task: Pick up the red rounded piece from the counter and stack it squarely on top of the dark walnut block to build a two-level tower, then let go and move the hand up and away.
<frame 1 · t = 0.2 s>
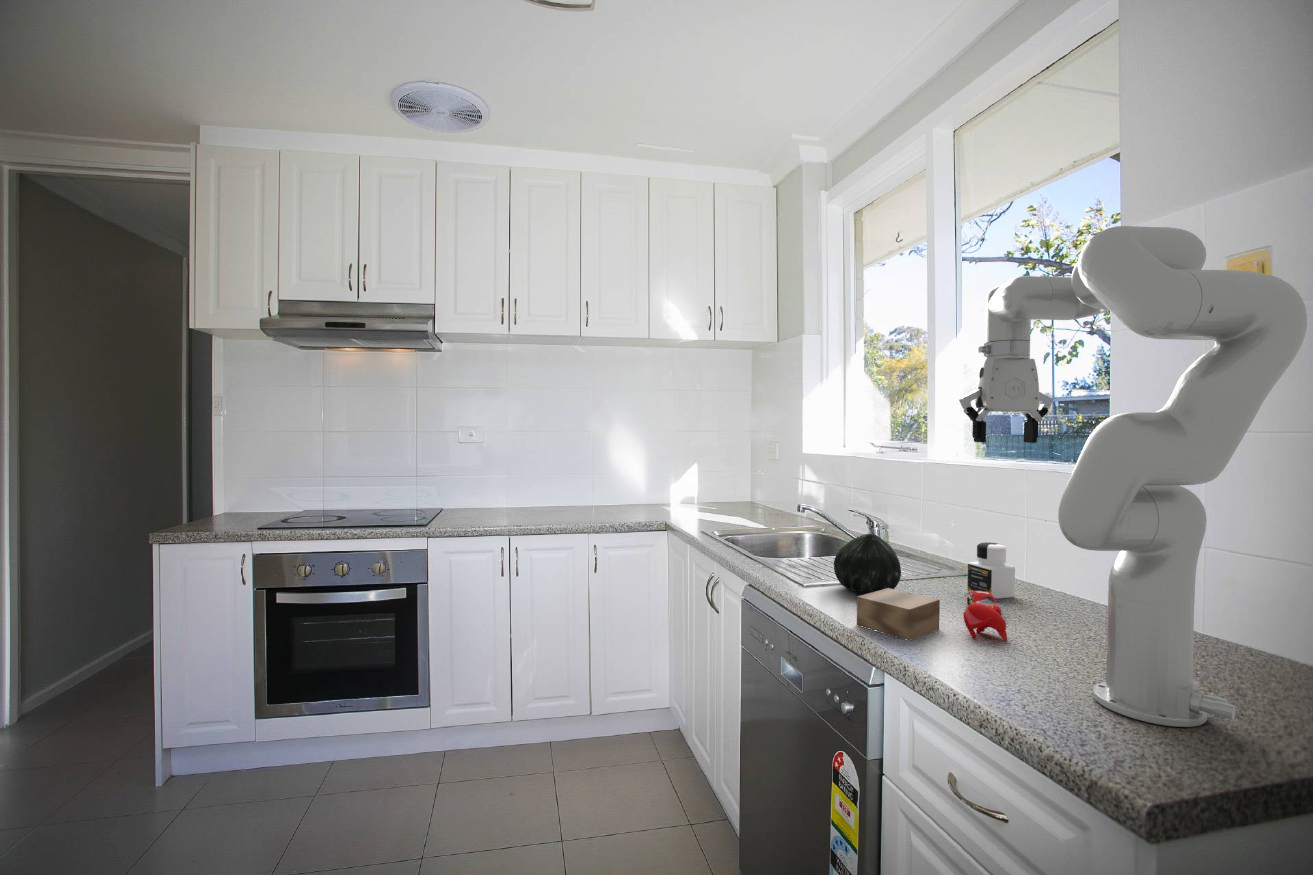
hand: (1004, 442, 121), 36 cm above the worktop, tool pointing down, fingers open, 9 cm apart
walnut block: (897, 628, 124), on the worktop
race car: (983, 613, 136), on the worktop
squash: (867, 592, 151), on the worktop
medicine bottle: (990, 595, 149), on the worktop
red rounded piece: (984, 637, 119), on the worktop
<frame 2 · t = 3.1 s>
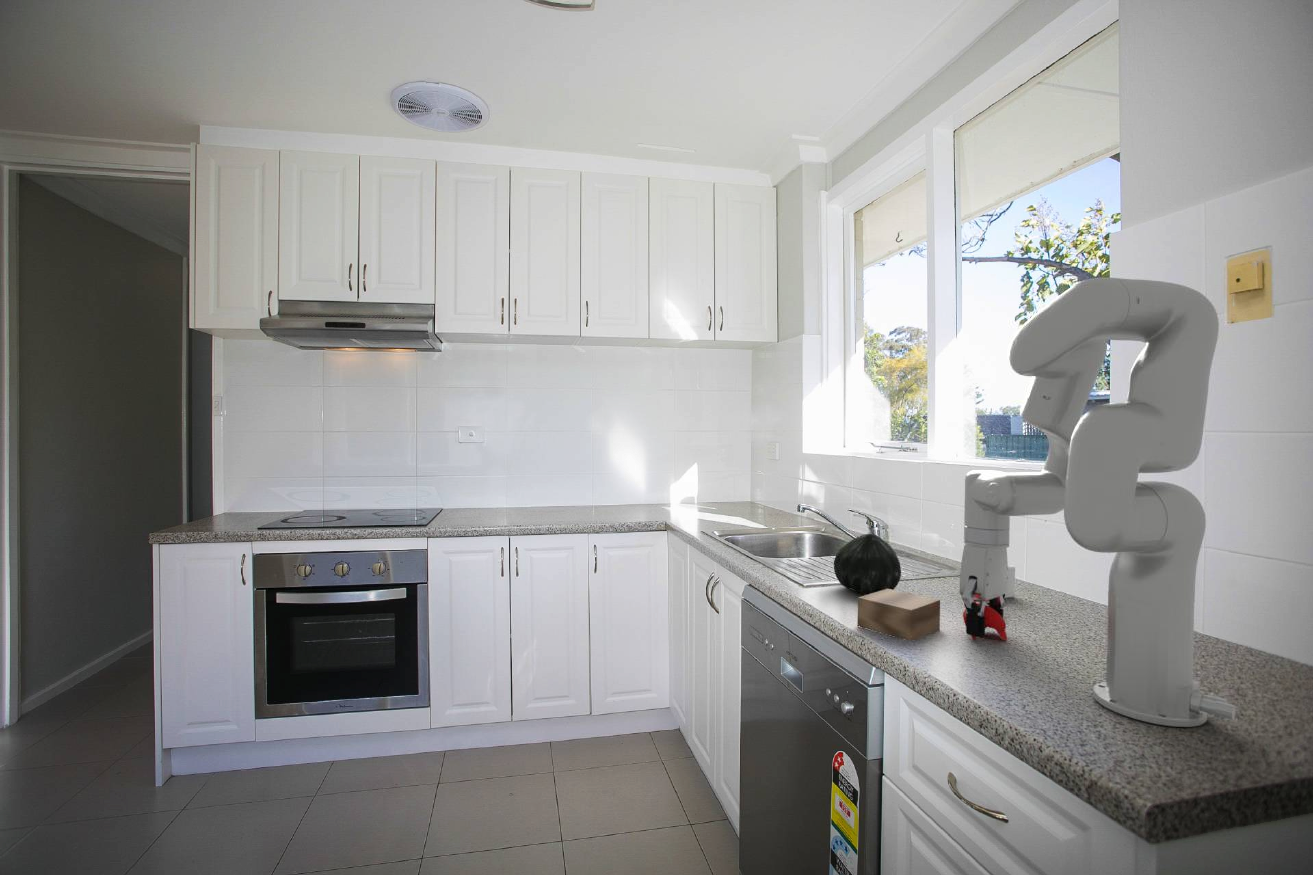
hand: (984, 631, 119), 1 cm above the worktop, tool pointing down, fingers closed on red rounded piece, 6 cm apart
red rounded piece: (984, 637, 119), on the worktop, touching gripper
everything else where it was.
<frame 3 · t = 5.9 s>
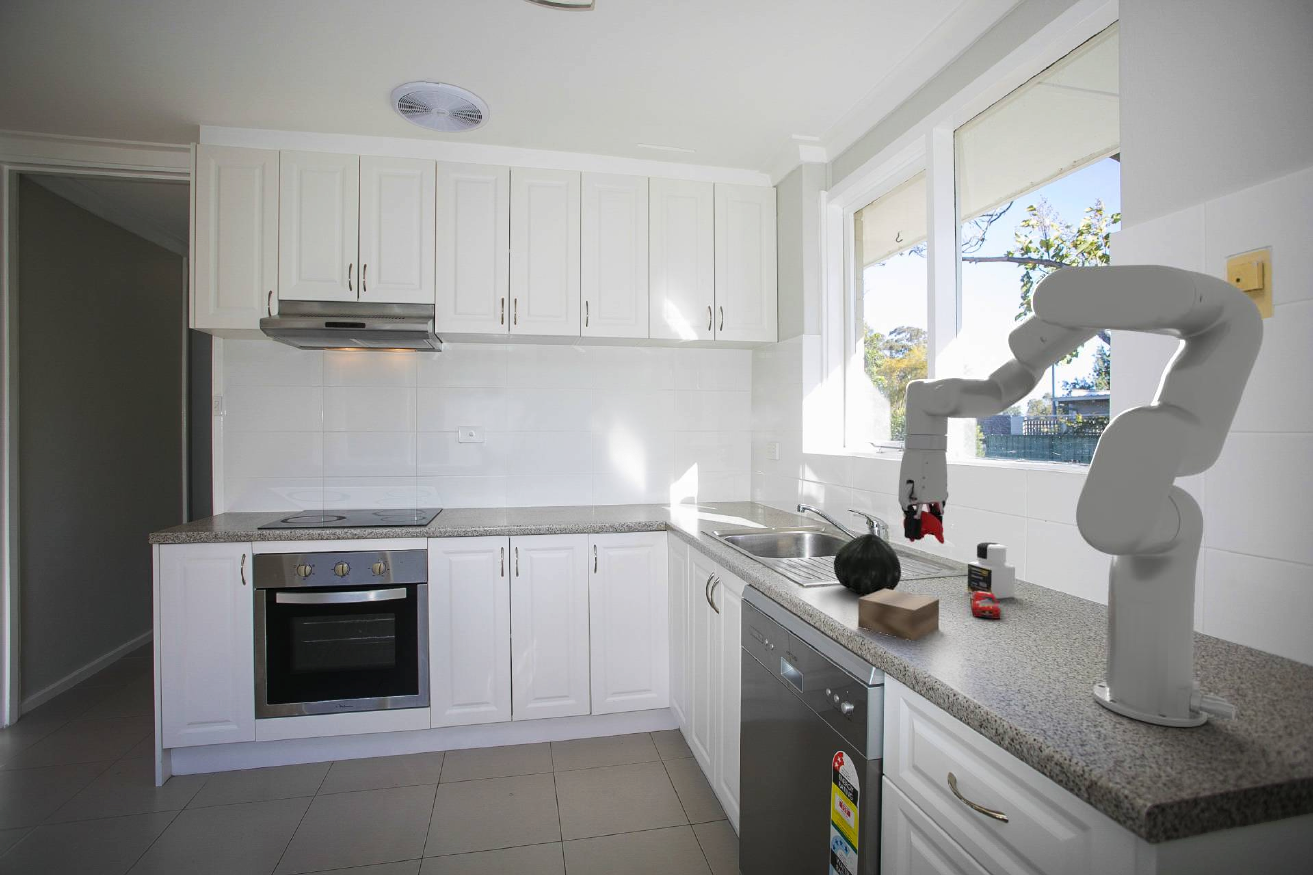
hand: (923, 536, 123), 18 cm above the worktop, tool pointing down, fingers closed on red rounded piece, 6 cm apart
red rounded piece: (923, 542, 123), point 17 cm above the worktop, touching gripper
everything else where it was.
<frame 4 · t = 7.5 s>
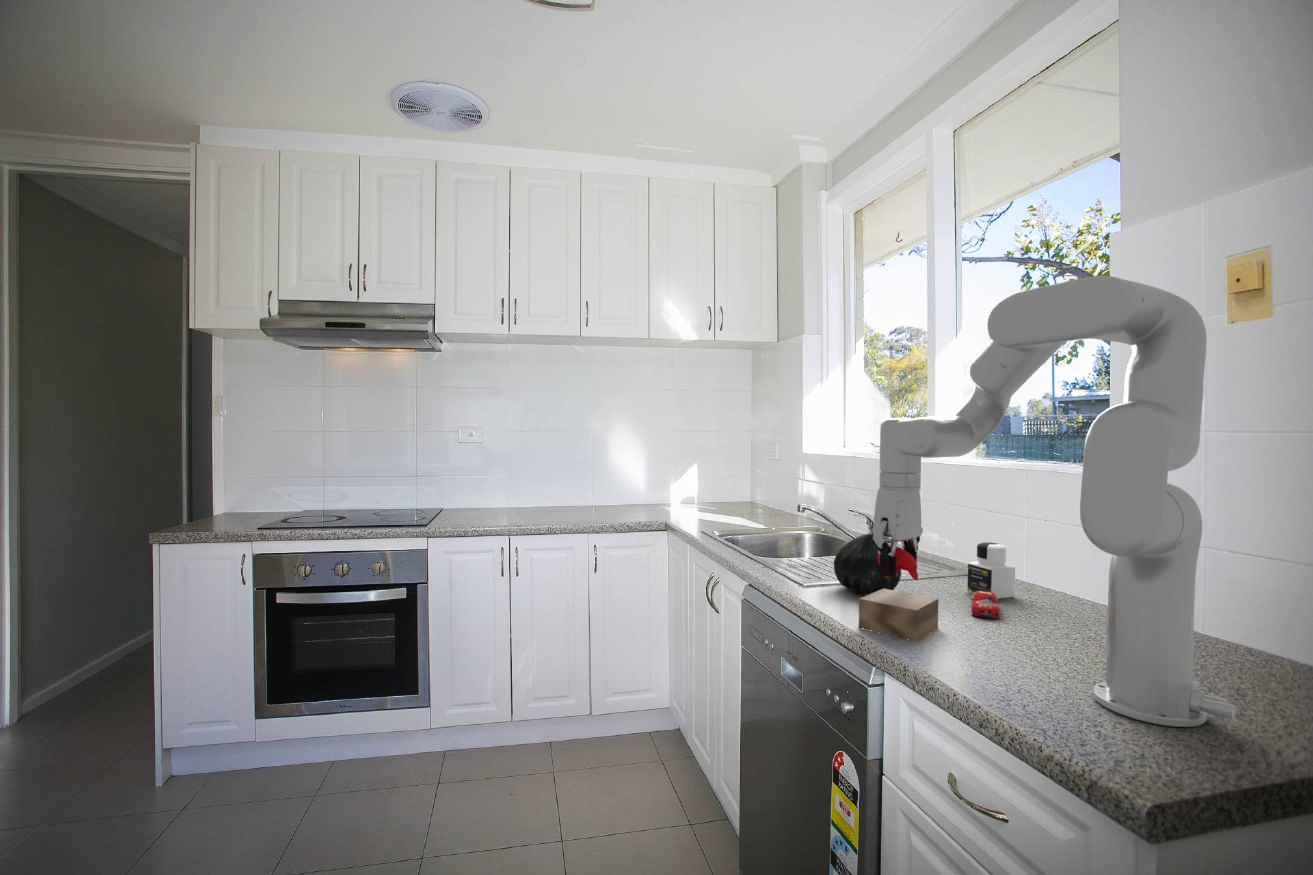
hand: (898, 572, 124), 11 cm above the worktop, tool pointing down, fingers closed on red rounded piece, 6 cm apart
red rounded piece: (897, 578, 124), point 10 cm above the worktop, touching gripper
everything else where it was.
when the fingers open (8 cm above the worktop, at t = 8.9 s): red rounded piece drops 2 cm, resting on walnut block.
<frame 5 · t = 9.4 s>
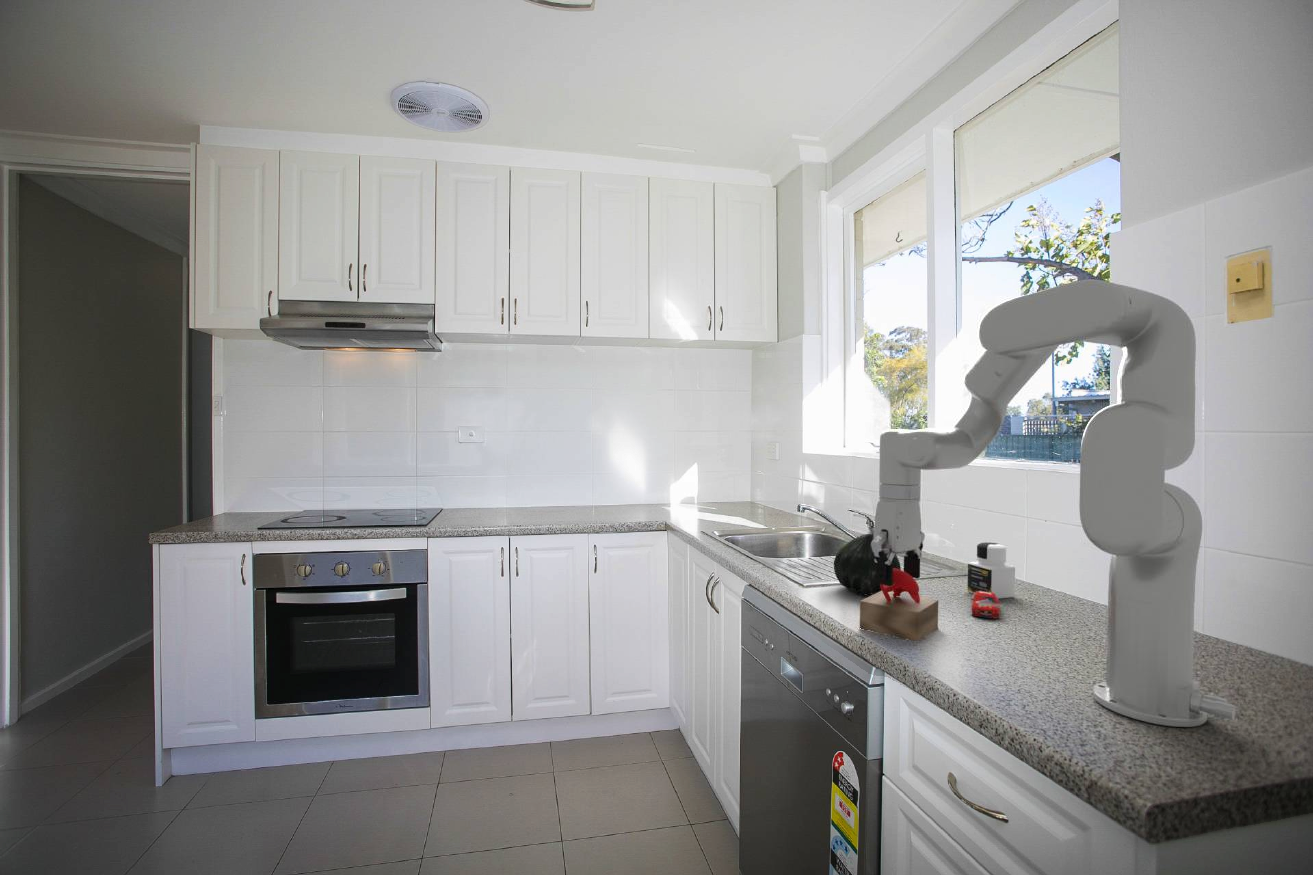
hand: (898, 580, 124), 9 cm above the worktop, tool pointing down, fingers open, 9 cm apart
walnut block: (898, 631, 123), on the worktop, touching red rounded piece
red rounded piece: (899, 601, 124), point 5 cm above the worktop, touching walnut block
everything else where it was.
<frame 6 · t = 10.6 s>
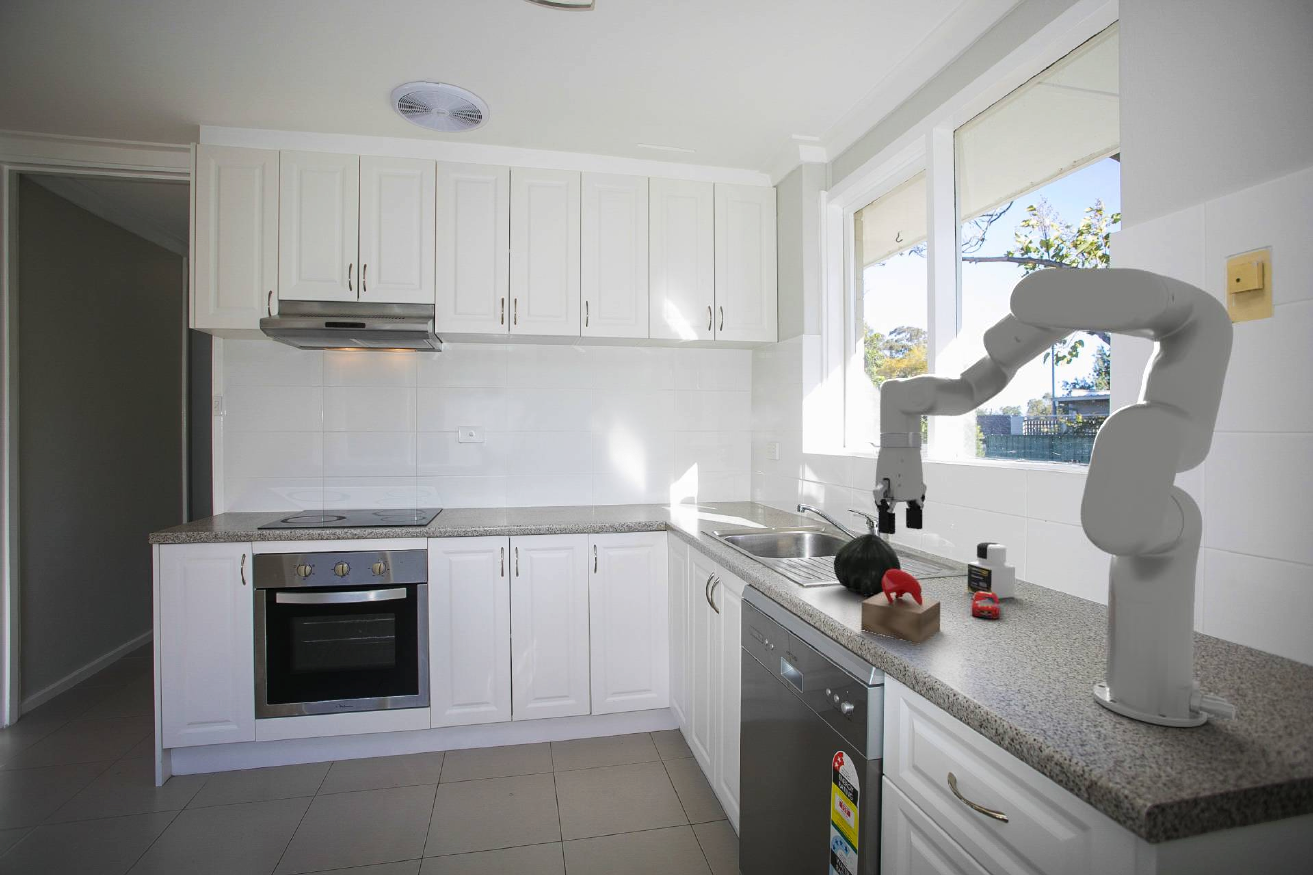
hand: (900, 530, 124), 19 cm above the worktop, tool pointing down, fingers open, 9 cm apart
red rounded piece: (901, 602, 123), point 5 cm above the worktop, touching walnut block
everything else where it was.
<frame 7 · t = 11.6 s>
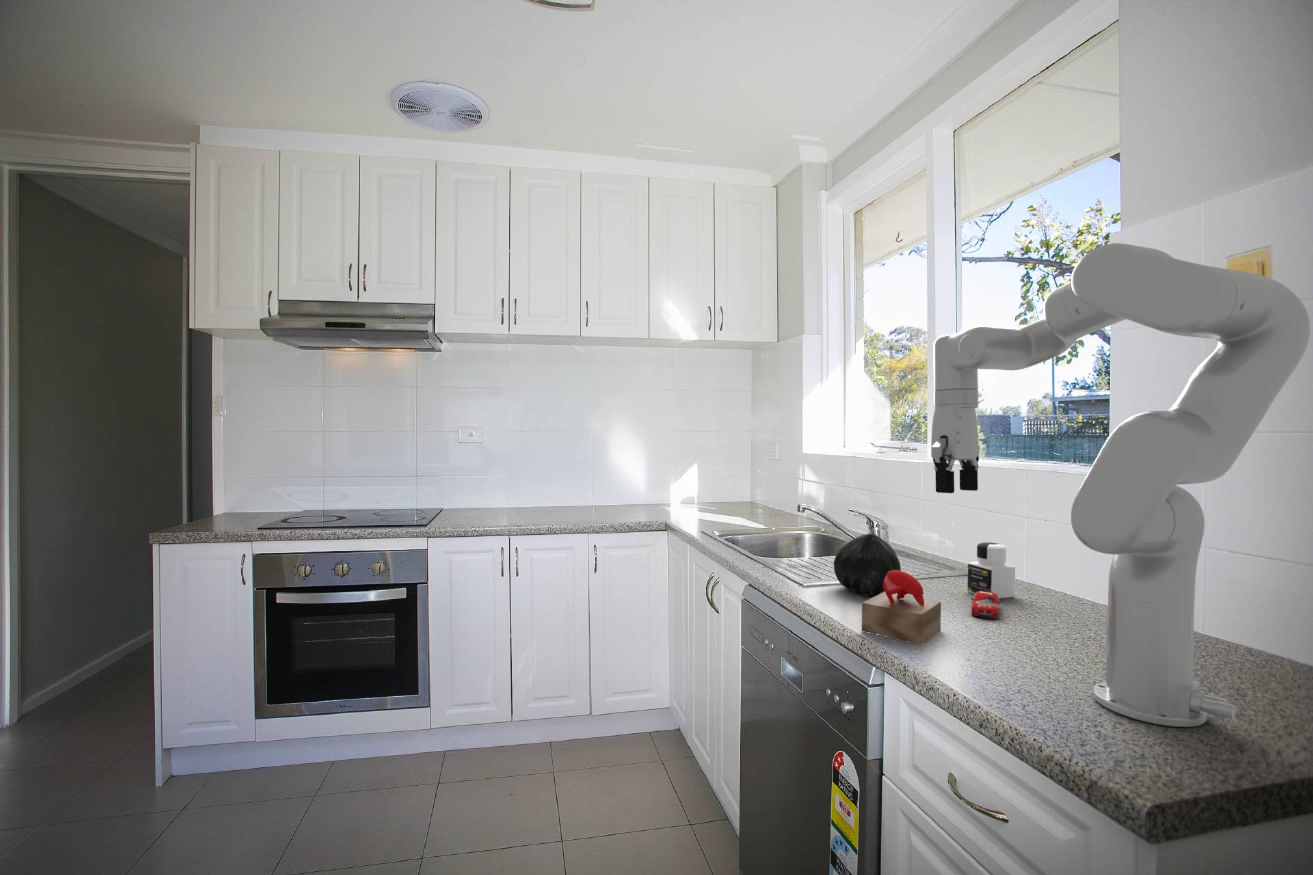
hand: (957, 491, 120), 27 cm above the worktop, tool pointing down, fingers open, 9 cm apart
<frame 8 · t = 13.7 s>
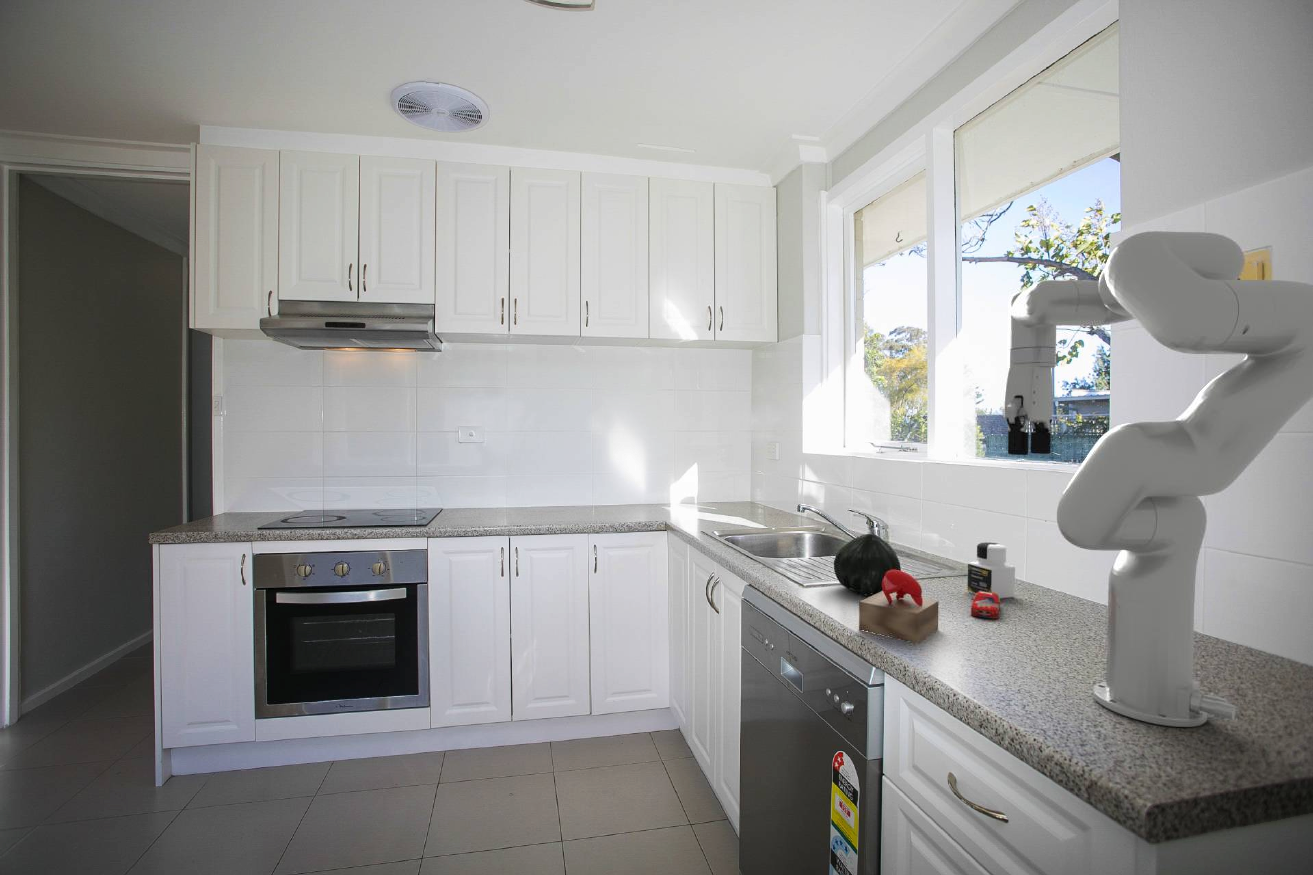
hand: (1029, 454, 116), 34 cm above the worktop, tool pointing down, fingers open, 9 cm apart
nothing on the worktop moved.
at the end: red rounded piece 0.7 cm off-centre on the walnut block, point 5.8 cm above the walnut block's base; red rounded piece tilted 0°; the gripper is holding nothing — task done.
